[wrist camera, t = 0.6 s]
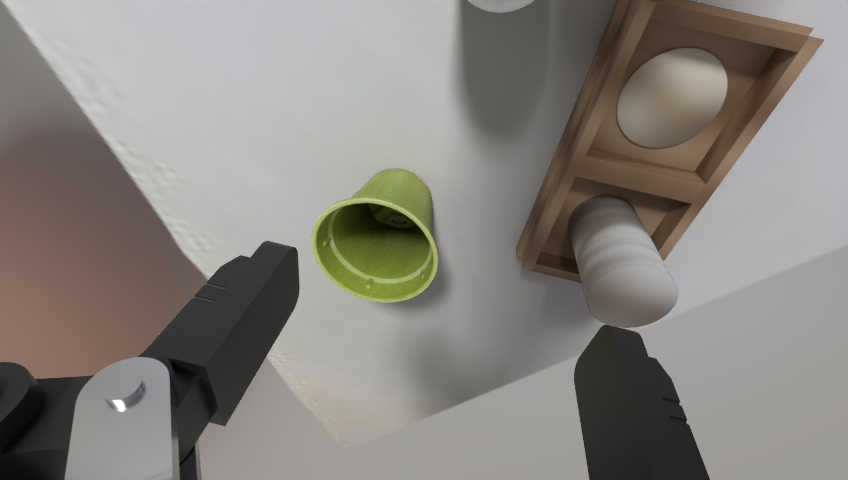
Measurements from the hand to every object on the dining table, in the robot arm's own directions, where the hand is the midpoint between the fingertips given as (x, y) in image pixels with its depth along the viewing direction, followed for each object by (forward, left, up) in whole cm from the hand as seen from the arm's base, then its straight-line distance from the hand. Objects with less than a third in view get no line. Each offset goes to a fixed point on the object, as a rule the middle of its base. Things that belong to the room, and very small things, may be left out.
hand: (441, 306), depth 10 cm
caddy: (+3, +12, -23) cm, 26 cm away
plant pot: (+11, -5, -23) cm, 26 cm away
